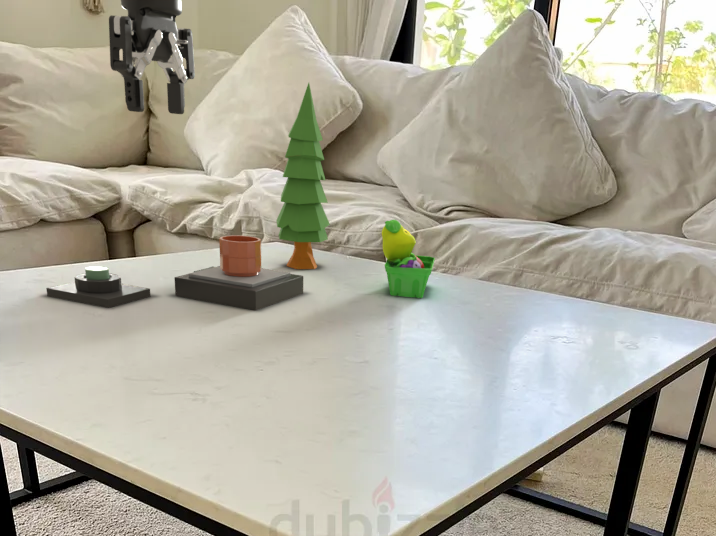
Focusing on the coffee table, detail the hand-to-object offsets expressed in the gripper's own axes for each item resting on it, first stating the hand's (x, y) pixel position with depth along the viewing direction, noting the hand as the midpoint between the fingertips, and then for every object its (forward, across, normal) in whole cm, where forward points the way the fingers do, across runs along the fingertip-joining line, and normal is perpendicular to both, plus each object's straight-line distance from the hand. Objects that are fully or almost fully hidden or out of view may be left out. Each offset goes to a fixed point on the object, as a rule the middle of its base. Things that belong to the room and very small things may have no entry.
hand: (156, 112), depth 105 cm
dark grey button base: (+25, -7, +7) cm, 26 cm away
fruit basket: (+24, +27, -28) cm, 46 cm away
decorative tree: (+24, +33, -5) cm, 42 cm away
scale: (+24, +7, -8) cm, 27 cm away
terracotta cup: (+21, +7, -8) cm, 24 cm away
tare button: (+22, -7, +7) cm, 24 cm away
